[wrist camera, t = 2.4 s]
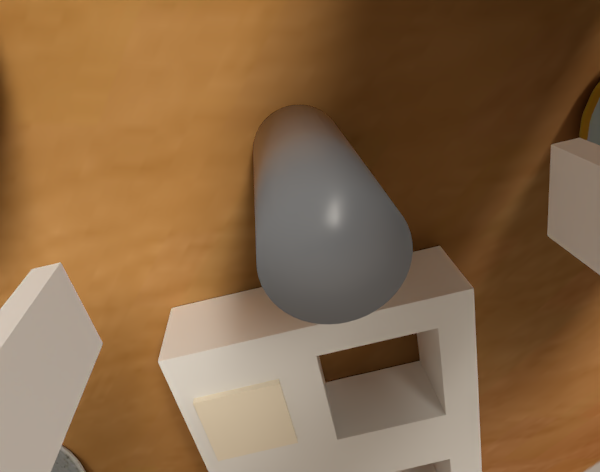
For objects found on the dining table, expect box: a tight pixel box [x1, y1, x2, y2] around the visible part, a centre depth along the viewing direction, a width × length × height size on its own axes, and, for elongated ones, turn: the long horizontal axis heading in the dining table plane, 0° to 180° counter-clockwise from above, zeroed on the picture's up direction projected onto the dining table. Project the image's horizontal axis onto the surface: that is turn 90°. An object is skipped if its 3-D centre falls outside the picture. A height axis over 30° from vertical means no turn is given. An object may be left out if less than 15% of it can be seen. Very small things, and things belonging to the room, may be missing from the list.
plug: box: [253, 105, 413, 324], centre depth 16 cm, size 4×4×10 cm
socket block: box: [158, 246, 482, 472], centre depth 26 cm, size 14×18×4 cm
